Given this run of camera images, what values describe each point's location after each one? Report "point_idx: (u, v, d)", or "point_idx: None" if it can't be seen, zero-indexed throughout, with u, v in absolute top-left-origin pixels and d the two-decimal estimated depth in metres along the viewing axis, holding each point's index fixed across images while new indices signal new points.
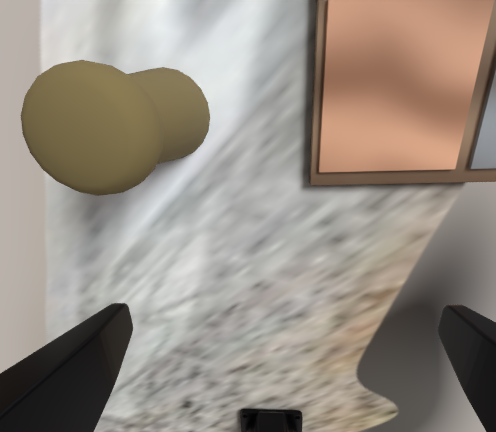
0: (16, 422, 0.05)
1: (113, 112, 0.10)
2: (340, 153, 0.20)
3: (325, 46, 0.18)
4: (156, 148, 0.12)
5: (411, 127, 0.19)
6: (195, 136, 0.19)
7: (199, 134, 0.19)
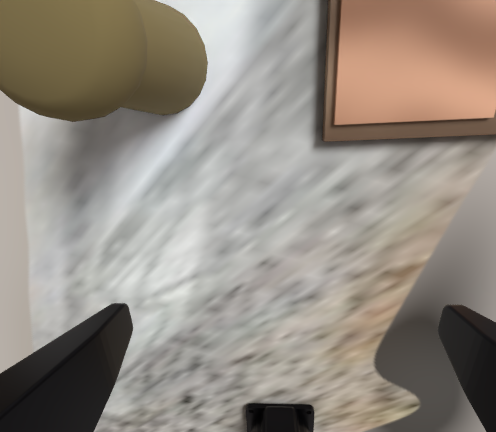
0: (16, 422, 0.05)
1: None
2: (359, 101, 0.17)
3: None
4: (136, 54, 0.09)
5: (443, 66, 0.16)
6: (190, 79, 0.16)
7: (195, 79, 0.17)
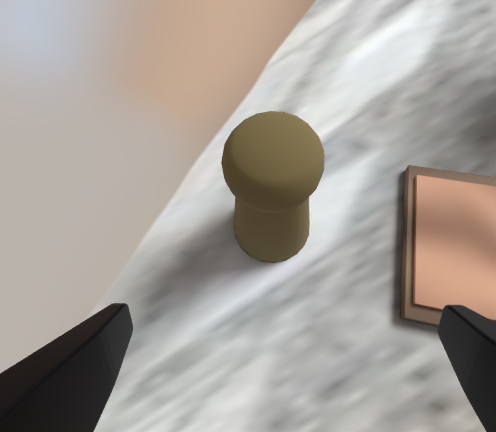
0: (16, 422, 0.05)
1: (308, 135, 0.14)
2: (436, 288, 0.20)
3: (415, 202, 0.23)
4: (319, 178, 0.14)
5: None
6: (302, 235, 0.21)
7: (303, 238, 0.22)
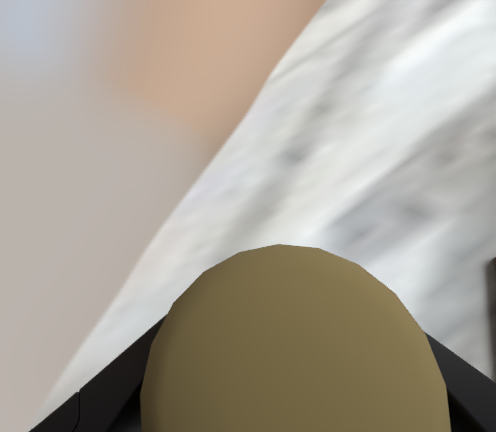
0: (126, 425, 0.05)
1: (410, 363, 0.04)
2: None
3: None
4: None
5: None
6: None
7: None
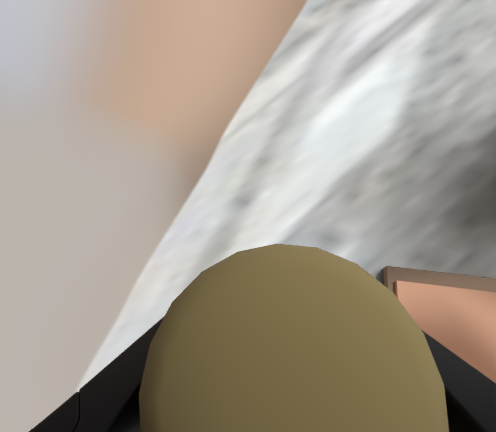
0: (125, 425, 0.05)
1: (408, 362, 0.04)
2: None
3: None
4: None
5: None
6: None
7: None
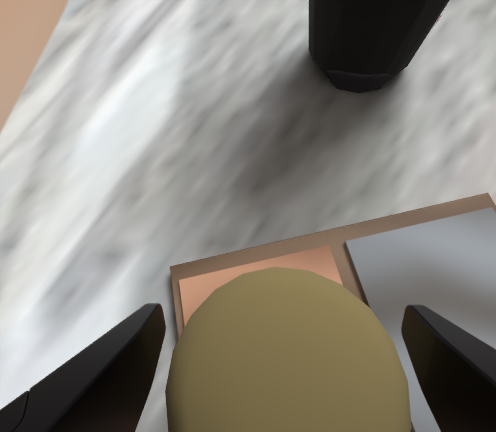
0: (72, 424, 0.05)
1: (378, 364, 0.06)
2: None
3: (185, 322, 0.17)
4: None
5: None
6: None
7: None
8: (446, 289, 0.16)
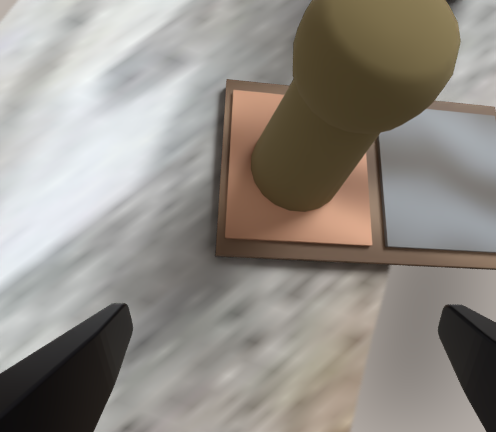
0: (16, 422, 0.05)
1: (452, 20, 0.09)
2: (248, 217, 0.18)
3: (231, 122, 0.19)
4: None
5: None
6: (339, 185, 0.16)
7: (336, 190, 0.17)
8: (441, 159, 0.20)
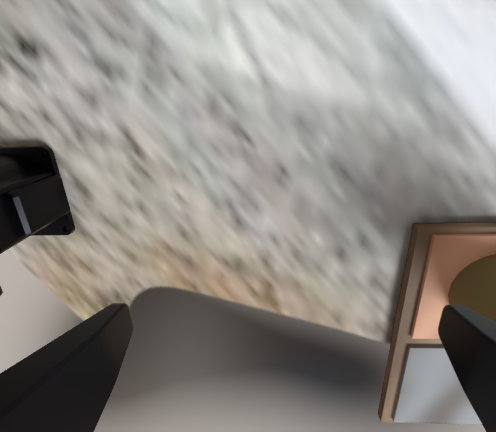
0: (16, 422, 0.05)
1: None
2: (450, 253, 0.21)
3: None
4: None
5: None
6: None
7: None
8: None
